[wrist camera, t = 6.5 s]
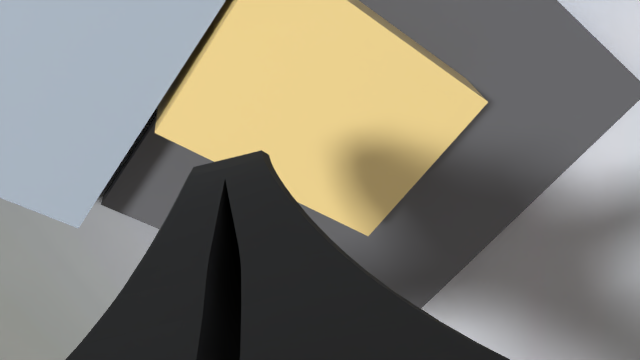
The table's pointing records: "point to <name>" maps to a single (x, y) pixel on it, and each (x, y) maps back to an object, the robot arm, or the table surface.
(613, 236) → the table surface
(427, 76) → the yellow flat piece
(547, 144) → the mat
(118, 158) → the light blue flat slab
